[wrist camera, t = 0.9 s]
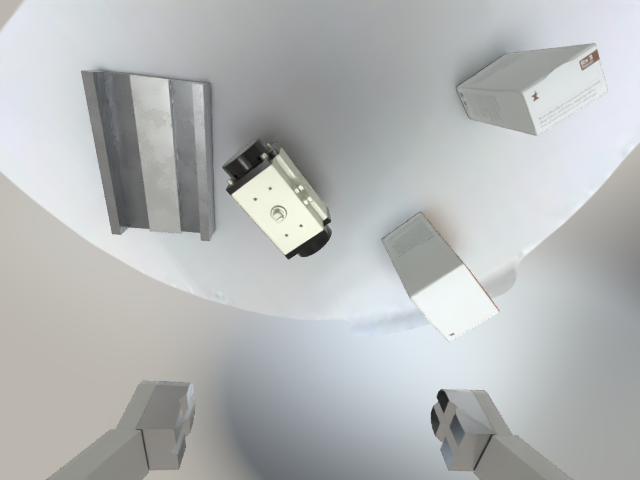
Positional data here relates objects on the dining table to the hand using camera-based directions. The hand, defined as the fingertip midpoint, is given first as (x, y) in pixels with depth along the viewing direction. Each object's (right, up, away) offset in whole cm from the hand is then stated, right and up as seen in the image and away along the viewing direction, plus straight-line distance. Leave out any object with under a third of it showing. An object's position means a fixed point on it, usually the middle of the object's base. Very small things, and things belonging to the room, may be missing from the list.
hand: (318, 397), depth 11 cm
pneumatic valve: (-4, +13, +29) cm, 32 cm away
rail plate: (-18, +14, +27) cm, 36 cm away
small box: (+13, +5, +34) cm, 37 cm away
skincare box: (+18, +22, +26) cm, 38 cm away
